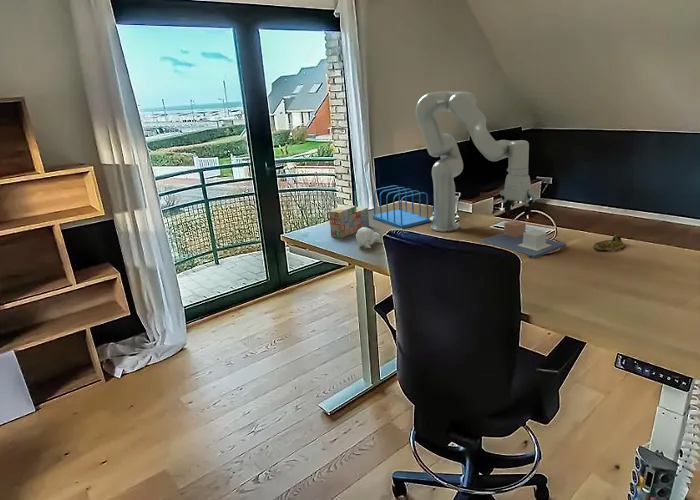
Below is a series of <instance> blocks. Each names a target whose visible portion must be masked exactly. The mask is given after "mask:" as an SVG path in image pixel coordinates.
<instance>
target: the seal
mask: <svg viewBox="0 0 700 500" xmlns="http://www.w3.org/2000/svg"><path fill="white" fill-rule="evenodd" d="M625 245H626V244H625V242H623V240H622V235H621V234H620V233H617V234H614V235H613V237H612V239H607V240H605V239H604V240H603V241H598V242H595V243H594V244H593V247H592V248H593V250H594V251H596V252H602V253H603V252H604V253H615V252H620V251H622V250H624V249H625V248H626V246H625Z"/></svg>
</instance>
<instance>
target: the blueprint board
mask: <svg viewBox="0 0 700 500" xmlns="http://www.w3.org/2000/svg"><path fill="white" fill-rule="evenodd" d="M478 241H479V242H483V243H486V244H490V245H493V246H496V247H501V248H504V249H507V250H511V251H514V252H518V253H522V254H525V255H529V256H528V258H531V259H536V258H538V257H541V256H544V255H547V254H549V253H552V252H554V251H558V250H560V249H562V248H564V247H566V246H567V243H565V242H562V241H557V240H553V239H548V238H546V245H545V246H542V247H539V248H536V249H535V248H531V247H528V246H524V245H523V235H522V236H519V237H516V238H515V237H511V236H508V235H504V232H502V233H498V234H495V235H492V236H489V237H485V238H482V239H479V240H478Z"/></svg>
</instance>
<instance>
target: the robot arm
mask: <svg viewBox="0 0 700 500" xmlns="http://www.w3.org/2000/svg"><path fill="white" fill-rule="evenodd" d="M476 105H477V99H476V97H475V95H474V94H473V93H472V92H469V91H447V90H446V91H444V90H443V91H434V92H433V91H432V92H427V93H426V94H424V95H422V96H421V97H420V98H419V100H418V102H417V103H416V106H415V117H416V121H417V123H418V127H419V130H420V132H421V135H422V138H423V142H424V144H425V147H426V150H427V152H428V155H429V156H431V157H433V158H439V157H440V159H439V160H437V161H435V163H434V164H433V166H432V168H431V178H432V184H433V185H432V186H433V215H431V216H430V217H429V218H430V219H429V220H430V222H432V224H431V225H430V229H431V230H432V231H435V232H441V233H442V232H443V233H445V232H447V231H448V232H453V230H454V231H457V230H458V229H459V223H457V222H456V184H455V181H454V180H455V179H454V178H456V177H457V176H459V175H461V173H462V172H463V170H464V161H463V158H462V155H461V152H460V149H459V146H458V144H457V141H456V139H455V138H454V136H453V135H452V134H450V133H448V132H443V130H442V127H441V124H440V121H439V120H438V118H437V117H436V113H440V112H441V113H442V112H450V113H451V112H452V114H453V115H454V116H455V117H456V119H457V120H458V121H459V122H460V123H461V124H462V125H463V126H464V127H465V129H466V130H467V131H468V133H469V136H470V137H471V141H472V142H473V144H474V147H476V148H477V150H478V152H479V153H481V154H482V155H483V157H484V158H485V159H487V161H490V162H498V161H500V160H504V159H506V158H508V166H507V168H506V172H508V174H506V177H505V181H504V189H502V190H500V191H499V195H500V198H501V200H502V202H503V204H504V213H508V212H511V211H512V201H516V202H523V203H524V212H523V213H524V214H523V215H524V216H525V217H526V216H530V215H531V213H532V206H533V204H534V203H535V202H536V200H537V198H538V195H537V194H535V193H534V192H533V191H532V187H531V185H532V183H531V177H530V175H529V159H530V158H529V155H530V153H529V151H530V143H529V142H528V141H527V140H524V139H520V140H507V139H500V140H496V139H494V137H493V136H492V135H491V133H490V132H489V130H488V128H487V125H486V124H487V123H486V122H487V117H486V115H484V113H483V112H482V111H481V110H480V109H479V108H478V107H477V106H476Z"/></svg>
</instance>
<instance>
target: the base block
mask: <svg viewBox="0 0 700 500" xmlns="http://www.w3.org/2000/svg"><path fill="white" fill-rule="evenodd" d="M547 234H548V233H547V232H545V231H540V230H536V229H531V230H528V231H525V233H523V245H524V246H528V247H531V248H535V249H536V248H539V247H542V246H545V245H546V239H547Z"/></svg>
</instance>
